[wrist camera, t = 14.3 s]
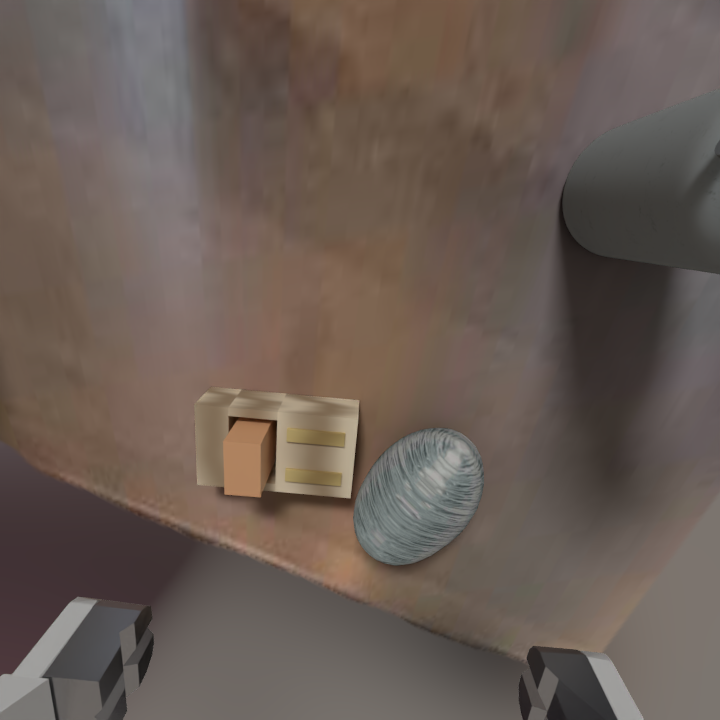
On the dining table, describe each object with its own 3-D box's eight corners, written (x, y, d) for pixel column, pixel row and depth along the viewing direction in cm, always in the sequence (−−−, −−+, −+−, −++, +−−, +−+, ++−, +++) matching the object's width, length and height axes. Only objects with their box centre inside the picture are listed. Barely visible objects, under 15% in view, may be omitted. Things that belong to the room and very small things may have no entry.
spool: (411, 574, 42) (399, 612, 32) (344, 502, 45) (315, 519, 35) (503, 472, 42) (519, 481, 32) (431, 407, 45) (426, 397, 35)
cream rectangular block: (212, 460, 42) (195, 486, 38) (211, 386, 40) (192, 405, 36) (352, 473, 42) (350, 500, 38) (359, 400, 40) (358, 420, 36)
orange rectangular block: (247, 451, 42) (224, 494, 35) (247, 404, 40) (223, 441, 34) (277, 453, 42) (260, 497, 35) (278, 407, 40) (260, 444, 34)
